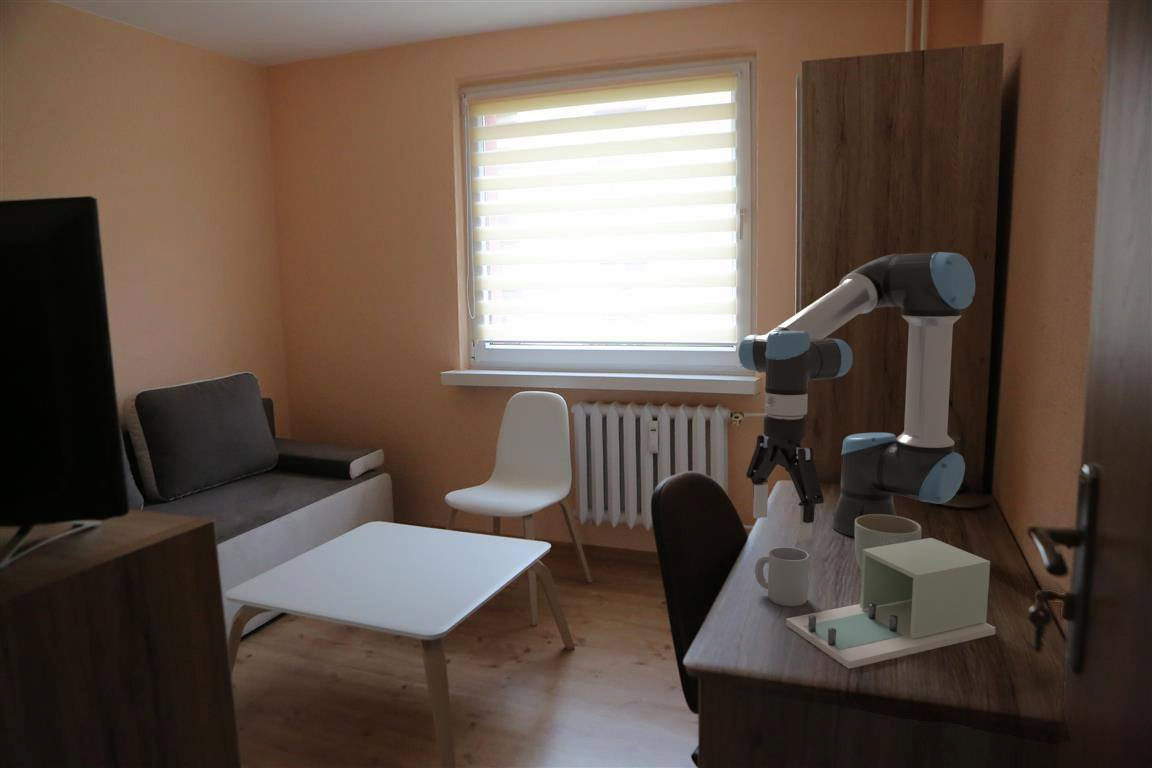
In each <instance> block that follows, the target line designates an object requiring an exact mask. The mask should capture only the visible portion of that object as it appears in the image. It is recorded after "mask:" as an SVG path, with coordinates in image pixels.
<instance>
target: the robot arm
mask: <svg viewBox="0 0 1152 768" xmlns="http://www.w3.org/2000/svg"><path fill="white" fill-rule="evenodd" d="M975 277H976V276H975V273H974V270H973V267H972V265H971V264H970V263H969V260H968V259H967V258H966V257H965V256H964V255H962V254H960V253H957V252H944V251H943V252H942V251H938V252H915V253H893V254H887V255H884V256H881V257H879V258H876V259H874V260H871V261H869V262H867V263H865V264H863V265H861V266H859V267H857V268H856V269H854V270H852V271H851V272H850V273H848V274H846V275H845V276H844V277H842V278H841V279H840V281H839V284H838V286H836V287H835V288H833V289H832V290H831V291H829V292H827V293H826V294H825V295H823V296H821V297H819V299H817V300H815V301H814V302H813V303H811V304H809V305H808V306H806V307H804V308H803V309H801V311H799V312H797V313H796V314H795V315H793V316H791V317H790V318H788V319H787V320H785V321H784V322H782V323H780V324H779V325H778V326H776V327H775V328H772V329H771V330H770V331H768V332H767V333H764V334H761V333H760V334H759V333H756V334H749V335H747V336H745V337H744V338H743V339H742V340H741V342H740V344H739V347H738V358H739V362H740V364H741V366H742V367H743V368H745V369H746V370H749V371H753V372H757V373H759V374H761V373H765V387H764V391H765V393H764V413H765V414H766V415H765V416H764V418H763V434H760V435H757V436H756V437H757V438H756V444H755V449H754V451H753V453H752V454H753V455H752V457H751V460H750V462H749V465H748V469H747V471H746V478H747V479H750V480H751V483H752V485H753V487H752V491H753V492H752V498H753V507H752V509H753V512H752V513H753V514H752V518H753V519H760V518H767V517H768V505H769V504H768V503H769V484H768V482H769V481H768V479H769V477H770V475H771V474H772V472H773V471H774V469H775V468H776V467H777V466H778V465H779V466H780V467H782V468H784V470H785V471H786V472H787V473H788V474H789V476H790V478H791V480H792V481H791V482H792V484H793V486H794V488H795V491H796V493H797V496H798V498H799V501H800V502H799V503H798V504H797V516H796V517H797V519H796V540H798V541H806V540H811V539H813V524H814V521H815V506H816V505H817V504H818V505H820V504H823V503H824V502H825V499H824V495H823V492H822V487H821V483H820V480H819V476H818V471H817V467H816V464H815V458H814V457H815V454H814V453H815V452H814V448H813V447H802V443H801V441H802V440H803V439H804V438H805V437H806V435H807V418H806V417H805V416H806V415H807V414H808V396H809V395H808V383H809V382H810V381H818V380H833V379H835V378H839V377H843V376H845V375H846V374H847V373H849V371H850V370H851V369H852V366H853V360H854V358H853V357H854V356H853V350H852V349H851V347H850V346H849V344H848V343H847V342H845V341H844V340H843V339H839V338H830V337H829V338H828V336H829V335H831V334H832V333H834V332H835V331H837V330H838V329H839V328H841V327H842V326H843V325H845V324H846V323H848V322H850V321H851V320H852V319H854V318H855V317H856V316H858V315H863V314H868V313H870V312H872V311H873V310H874V309H878V308H885V307H896V308H898V307H899V308H901V317H902V318H903V319H904V320H905V321H906V322H907V323H908V338H907V339H908V341H907V359H906V362H907V363H906V385H905V405H904V406H905V408H904V409H905V410H904V430H903V432H902V433H901V434H900V435H897V437H896V434H894V433H891V432H863V433H862V432H861V433H853V434H849V435H848V436H846V437H845V438H844V439H843V442H842V449H841V453H840V454H841V471H840V473H841V474H840V475H841V476H840V494H839V499H838V501H837V504H836V507H835V510H834V512H833V514H832V517H831V528H832V529H833V530H835V531H836V532H838V533H840V534H842V535H846V536H848V537H849V536H850V537H854V538H855V519H856V518H858V517H860V516H863V515H871V514H884V515H893V516H898V515H897V510H896V508H895V503H894V495H898V496H902V497H906V498H910V499H914V500H918V501H920V502H922V503H923V502H924V503H931V504H936V505H937V504H938V505H940V504H945V503H947V502H949V501H950V500H952V498H953V497H954V496H955V495H956V494H957V492H958V491H959V489H960V488H961V485H962V483H963V480H964V477H965V471H966V463H965V460H964V456H962V455H961V453H960V454H959V453H958V452H955V440H953V439H952V437H951V436H949V435H948V423H949V421H948V420H949V408H950V407H949V405H950V404H949V403H950V388H951V387H950V386H951V385H950V383H951V366H952V365H951V364H952V347H953V345H952V344H953V332H954V331H953V330H954V329H953V328H954V327H953V326H954V324H955V323H956V322H957V321H958V320H960V318H962V309H966V308H968V307H969V306H971V303H973V298H974V297H975V292H976V279H975ZM826 337H827V338H826Z"/></svg>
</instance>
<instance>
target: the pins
mask: <svg viewBox="0 0 1152 768" xmlns="http://www.w3.org/2000/svg"><path fill="white" fill-rule="evenodd" d="M868 618H869V619H876V604H873V603H870V604H869V611H868ZM897 623H898V617H897V616H895V615H890V626H889V630H890V631H892V632H897ZM808 631H809V632H811V633H813V632H815V631H816V616H813V615H810V616H809V621H808ZM828 645H830V646H834V645H836V629H834V628H829V629H828Z"/></svg>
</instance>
